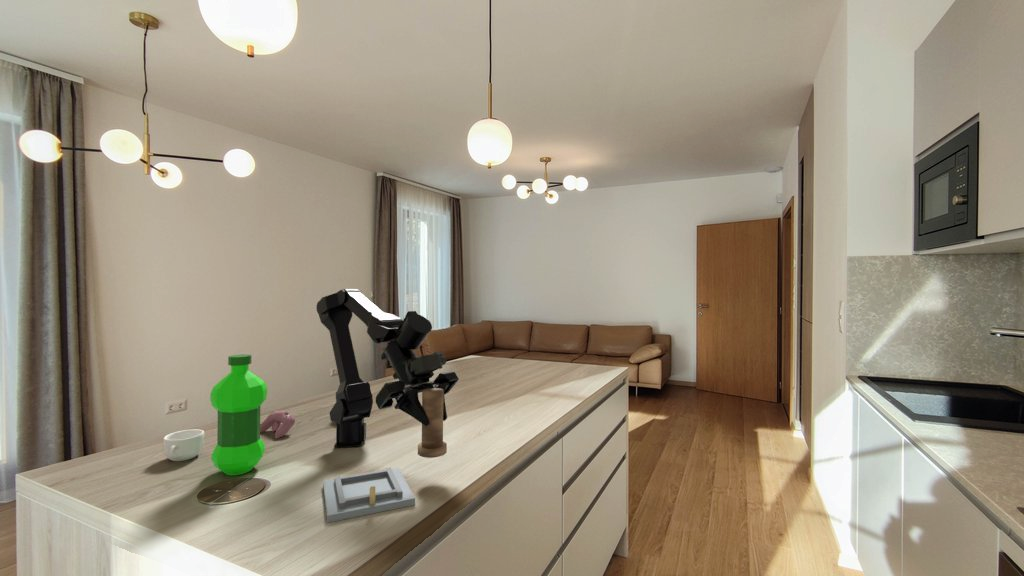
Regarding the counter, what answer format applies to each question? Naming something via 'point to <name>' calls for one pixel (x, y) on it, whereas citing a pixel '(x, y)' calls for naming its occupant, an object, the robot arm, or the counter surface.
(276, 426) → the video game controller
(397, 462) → the counter surface
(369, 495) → the base plate
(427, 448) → the flanged spindle
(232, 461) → the plastic bottle
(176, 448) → the teacup
